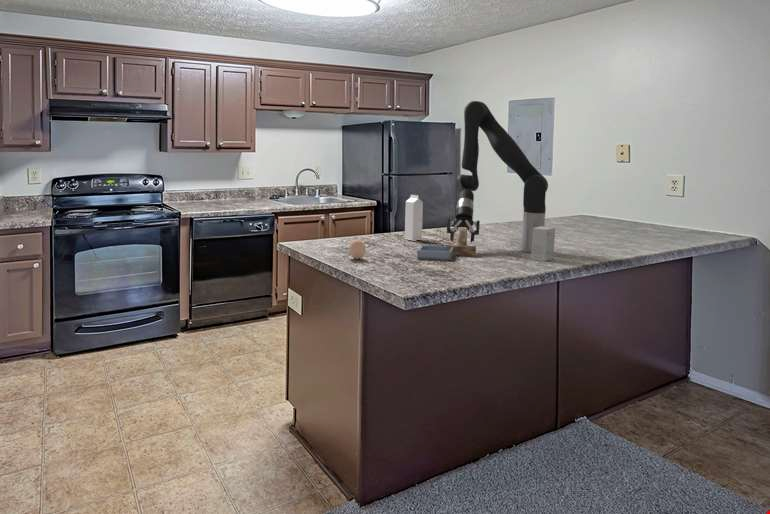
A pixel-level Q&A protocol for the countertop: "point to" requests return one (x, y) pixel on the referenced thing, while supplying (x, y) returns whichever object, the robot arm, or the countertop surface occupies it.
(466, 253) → the block
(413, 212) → the milk
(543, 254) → the small box
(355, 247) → the egg
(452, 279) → the countertop surface
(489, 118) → the robot arm
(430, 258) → the tray
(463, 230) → the dowel
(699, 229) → the countertop surface
